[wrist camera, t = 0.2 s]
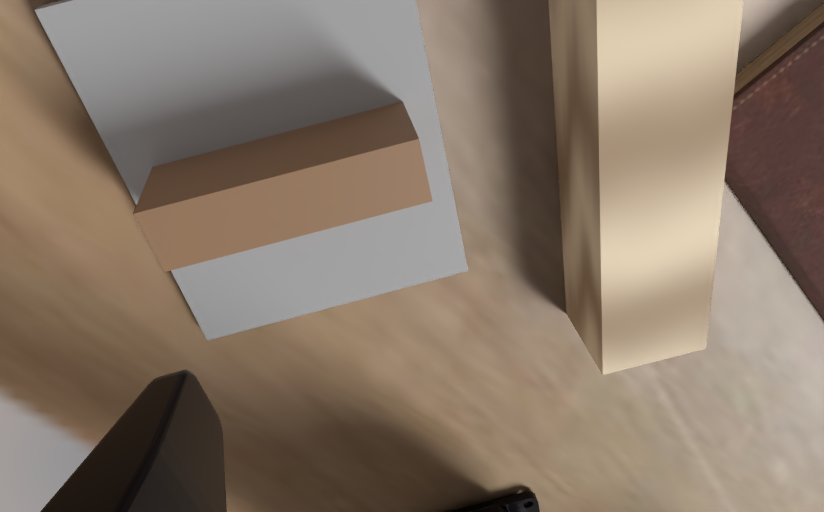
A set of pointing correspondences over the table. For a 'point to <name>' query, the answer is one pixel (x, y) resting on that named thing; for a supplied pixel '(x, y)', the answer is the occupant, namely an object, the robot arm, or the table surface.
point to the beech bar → (642, 168)
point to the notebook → (784, 149)
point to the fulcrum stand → (269, 146)
